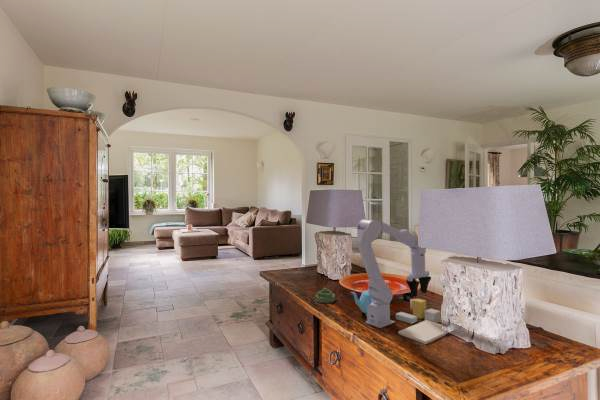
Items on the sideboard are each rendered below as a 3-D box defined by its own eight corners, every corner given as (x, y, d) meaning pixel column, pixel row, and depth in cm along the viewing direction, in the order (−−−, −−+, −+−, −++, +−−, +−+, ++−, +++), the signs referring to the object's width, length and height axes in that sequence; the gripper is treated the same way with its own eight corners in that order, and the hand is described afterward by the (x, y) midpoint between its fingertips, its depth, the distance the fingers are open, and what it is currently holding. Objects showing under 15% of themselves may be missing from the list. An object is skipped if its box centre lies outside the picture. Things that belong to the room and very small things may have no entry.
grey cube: (434, 324, 140) (434, 313, 140) (424, 321, 144) (424, 310, 144) (440, 321, 143) (440, 311, 143) (431, 318, 146) (430, 308, 146)
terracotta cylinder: (417, 311, 156) (417, 302, 156) (408, 308, 160) (407, 300, 160) (423, 309, 159) (423, 300, 159) (414, 306, 163) (414, 298, 163)
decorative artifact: (320, 304, 171) (338, 301, 175) (320, 290, 171) (338, 287, 175) (312, 299, 181) (329, 296, 184) (312, 285, 180) (329, 283, 184)
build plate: (393, 299, 176) (393, 290, 176) (402, 296, 181) (401, 287, 180) (415, 304, 166) (414, 295, 166) (423, 301, 171) (423, 292, 171)
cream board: (425, 344, 122) (425, 341, 122) (398, 333, 132) (398, 331, 132) (453, 331, 133) (453, 328, 133) (426, 322, 142) (426, 320, 142)
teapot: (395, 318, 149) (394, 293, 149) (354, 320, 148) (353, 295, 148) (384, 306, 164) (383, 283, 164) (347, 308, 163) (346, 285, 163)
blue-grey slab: (417, 322, 144) (417, 316, 144) (411, 324, 141) (411, 318, 141) (401, 317, 150) (401, 311, 150) (395, 319, 148) (395, 313, 148)
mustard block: (421, 318, 147) (420, 302, 147) (413, 316, 150) (412, 300, 150) (426, 316, 149) (426, 300, 149) (418, 314, 152) (418, 298, 152)
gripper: (417, 267, 142) (418, 300, 143) (435, 262, 152) (436, 292, 152) (402, 265, 148) (403, 296, 148) (420, 260, 157) (421, 289, 157)
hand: (419, 294), depth 150 cm, fingers open, 7 cm apart
